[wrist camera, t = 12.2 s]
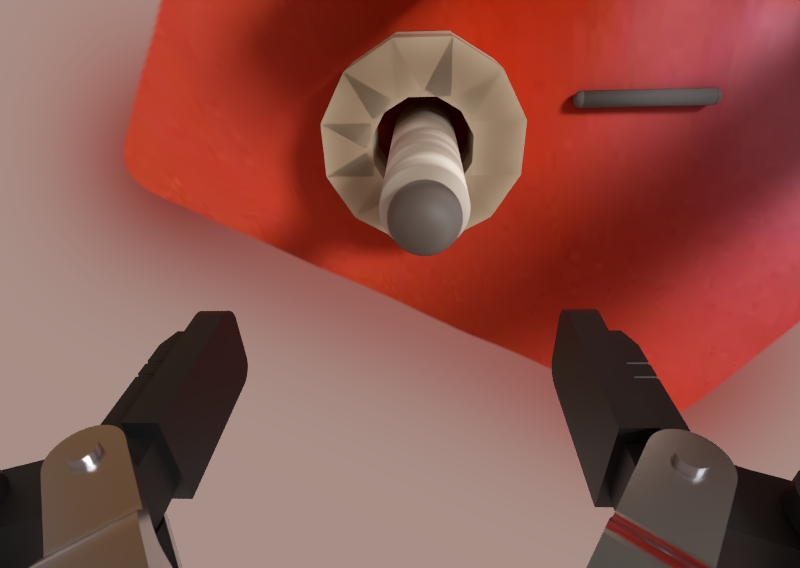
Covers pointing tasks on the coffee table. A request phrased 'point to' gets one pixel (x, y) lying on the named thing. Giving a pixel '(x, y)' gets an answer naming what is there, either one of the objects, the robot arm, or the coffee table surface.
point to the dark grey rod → (647, 97)
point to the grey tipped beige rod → (424, 182)
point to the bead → (423, 77)
